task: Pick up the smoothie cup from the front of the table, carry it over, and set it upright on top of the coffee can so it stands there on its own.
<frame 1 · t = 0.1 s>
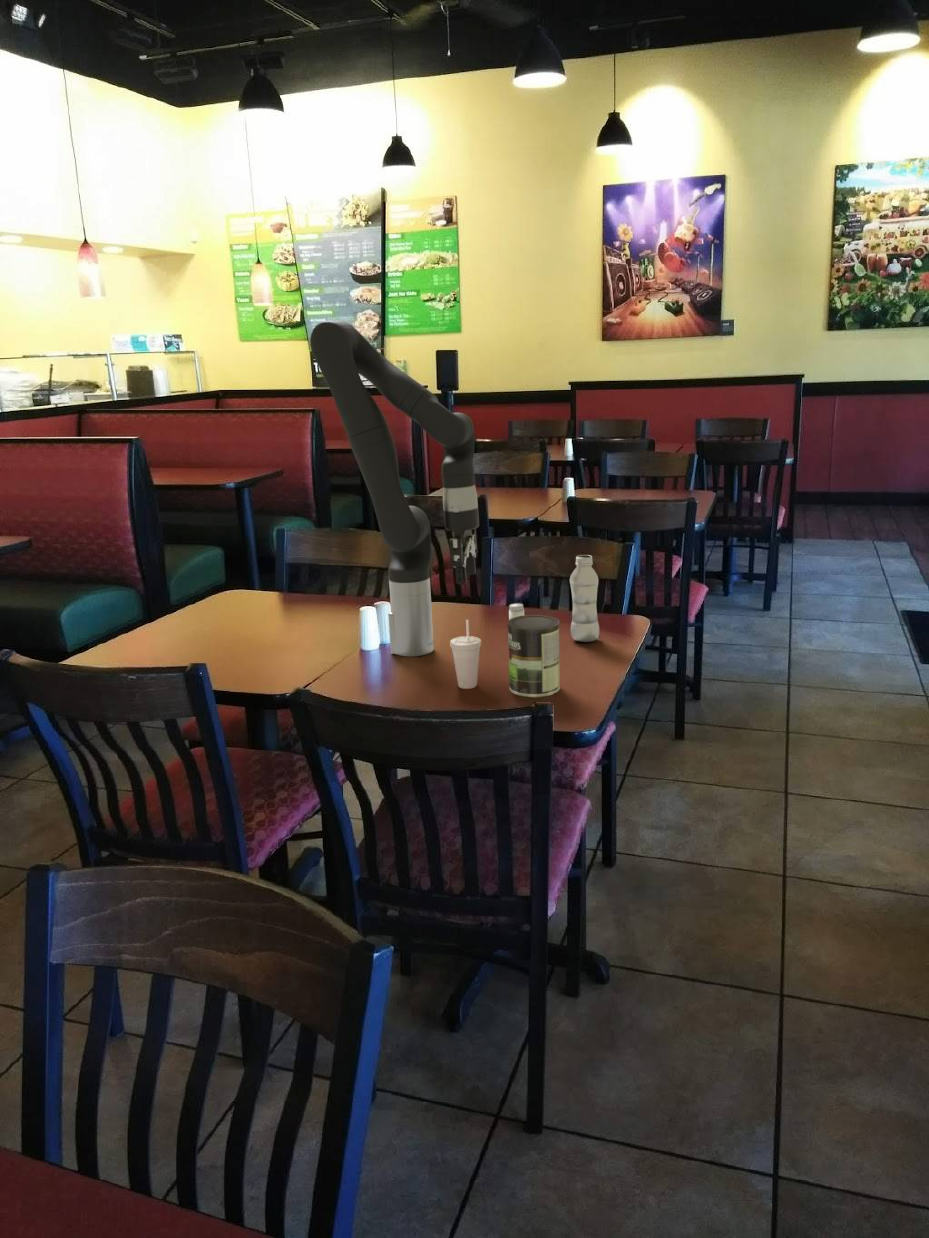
hand: (466, 579, 207), 17 cm above the table, tool pointing down, fingers open, 8 cm apart
salt shaker: (517, 638, 221), on the table
smoothie: (467, 686, 191), on the table
coffee can: (534, 689, 188), on the table
plastic bottle: (584, 641, 217), on the table
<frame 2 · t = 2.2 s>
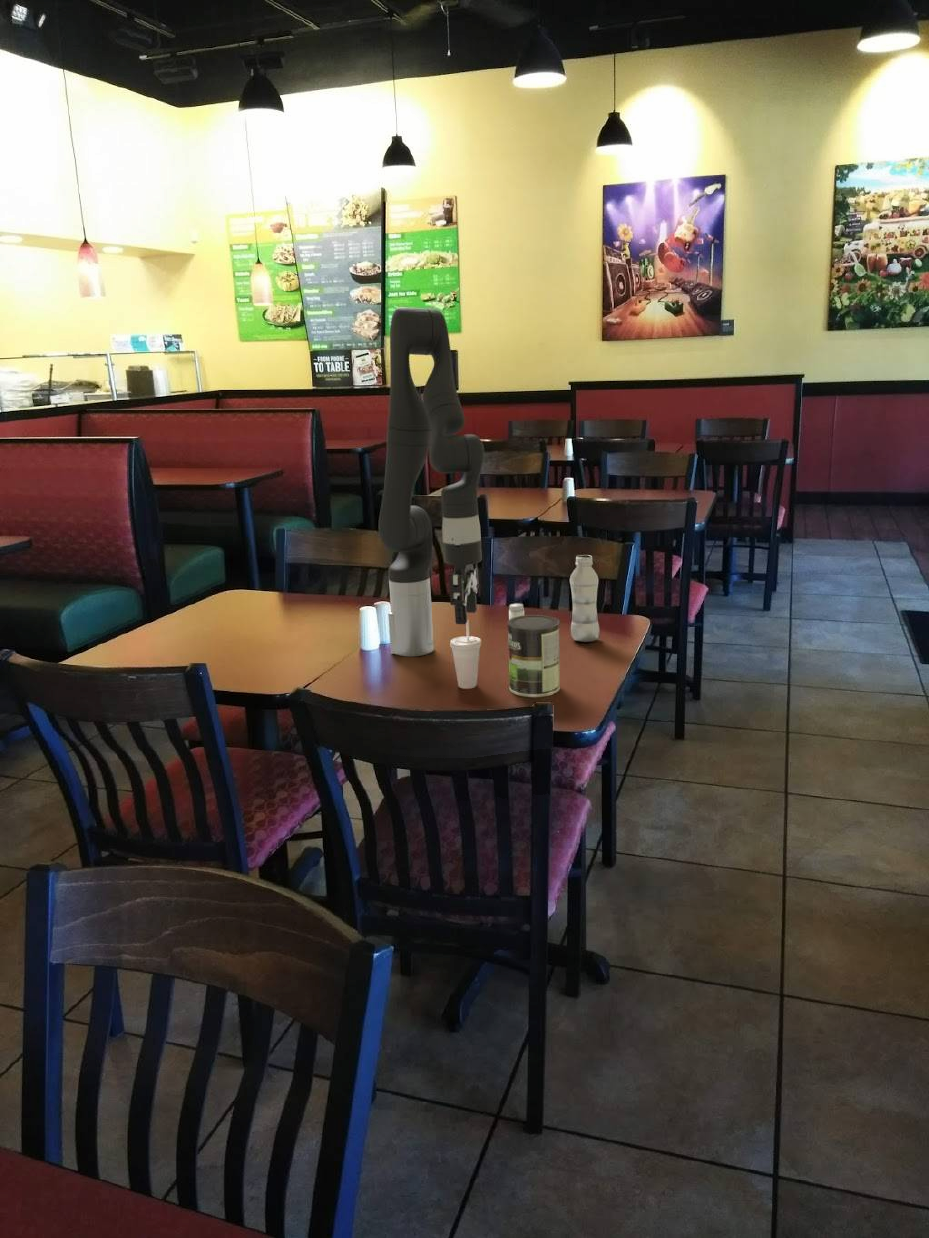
hand: (466, 617, 187), 14 cm above the table, tool pointing down, fingers open, 8 cm apart
nothing on the table moved.
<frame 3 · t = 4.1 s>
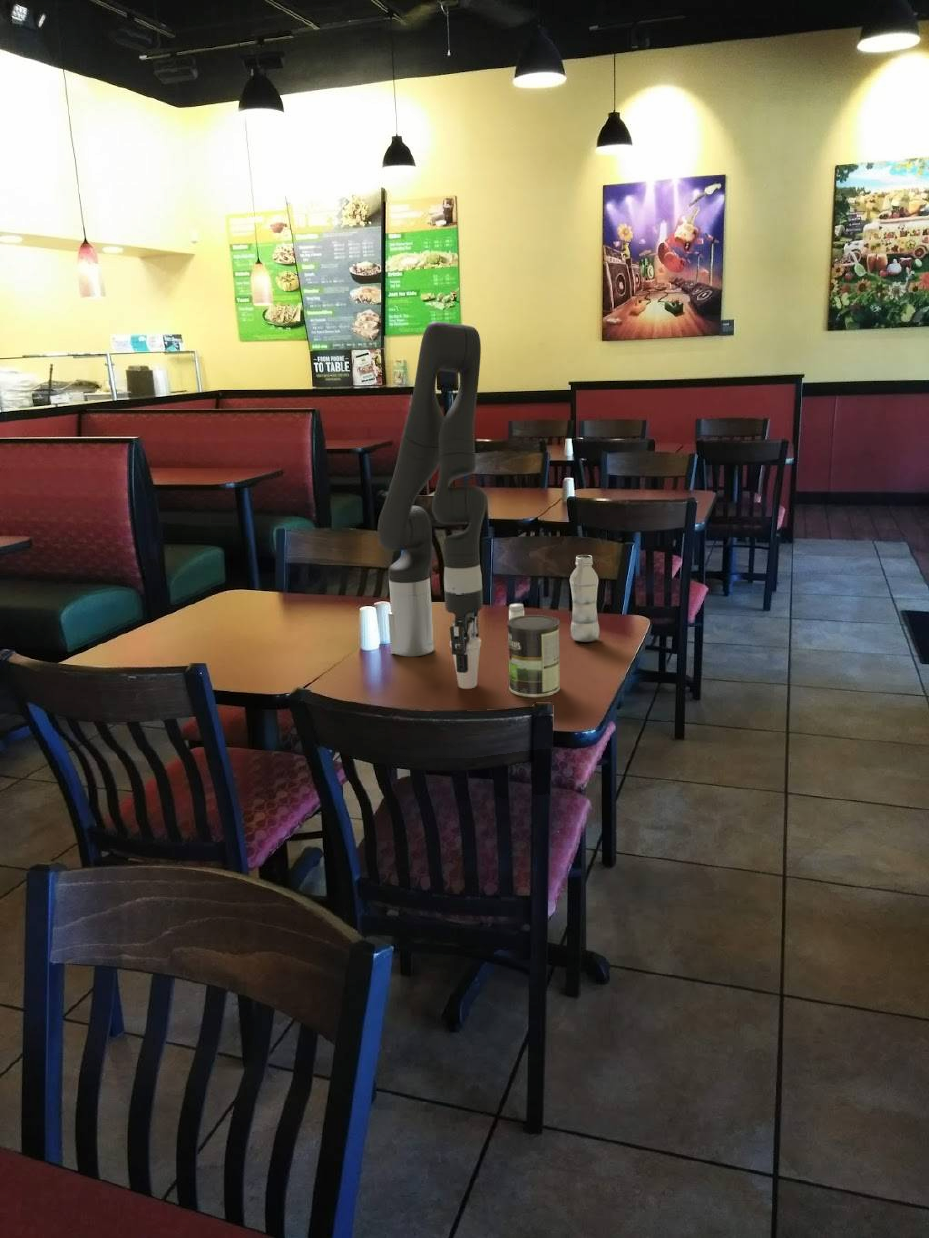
hand: (466, 666, 190), 4 cm above the table, tool pointing down, fingers closed on smoothie, 6 cm apart
smoothie: (467, 686, 191), on the table, touching gripper
everything else where it was.
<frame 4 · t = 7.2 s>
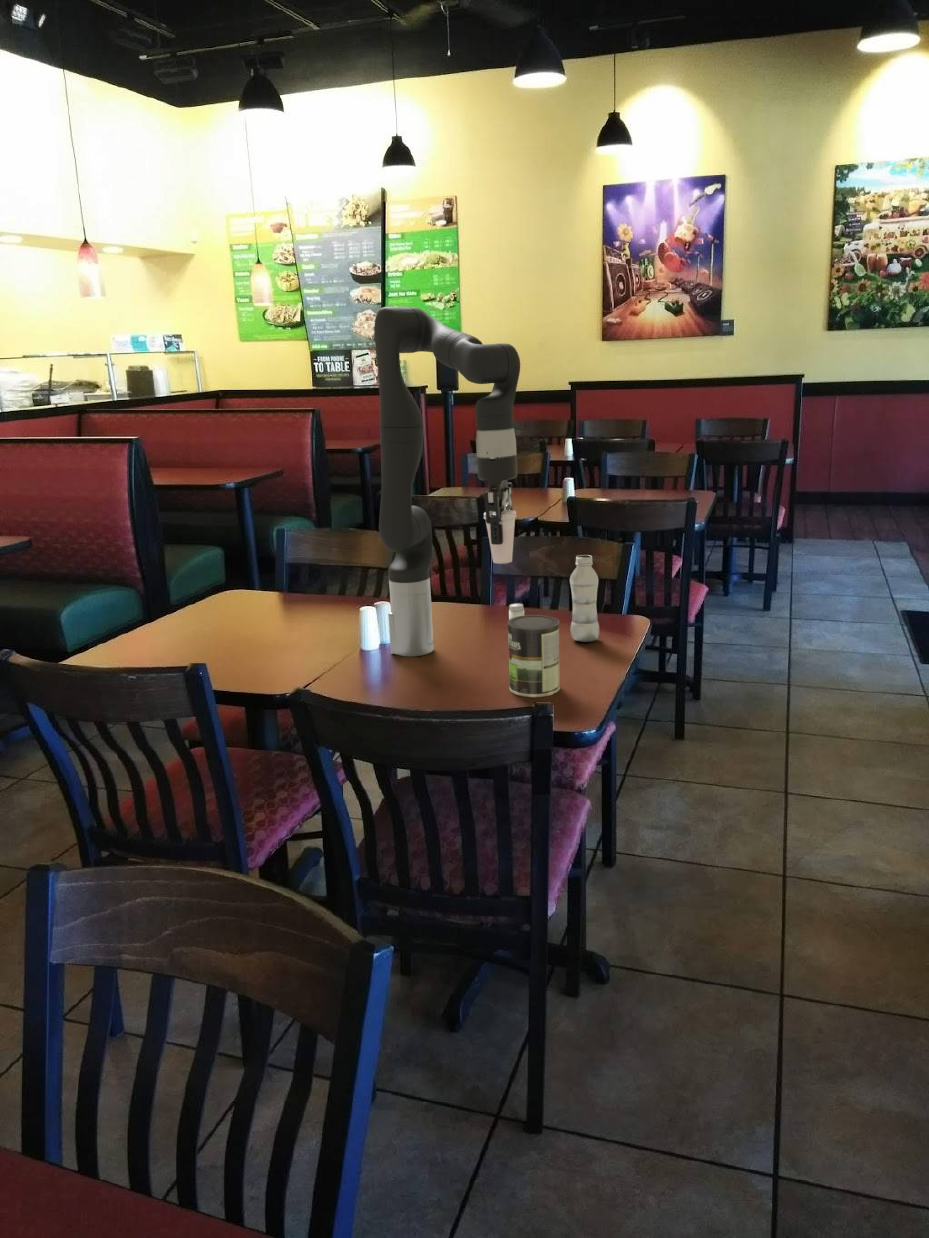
hand: (501, 540, 181), 30 cm above the table, tool pointing down, fingers closed on smoothie, 6 cm apart
smoothie: (502, 562, 182), point 26 cm above the table, touching gripper
everything else where it was.
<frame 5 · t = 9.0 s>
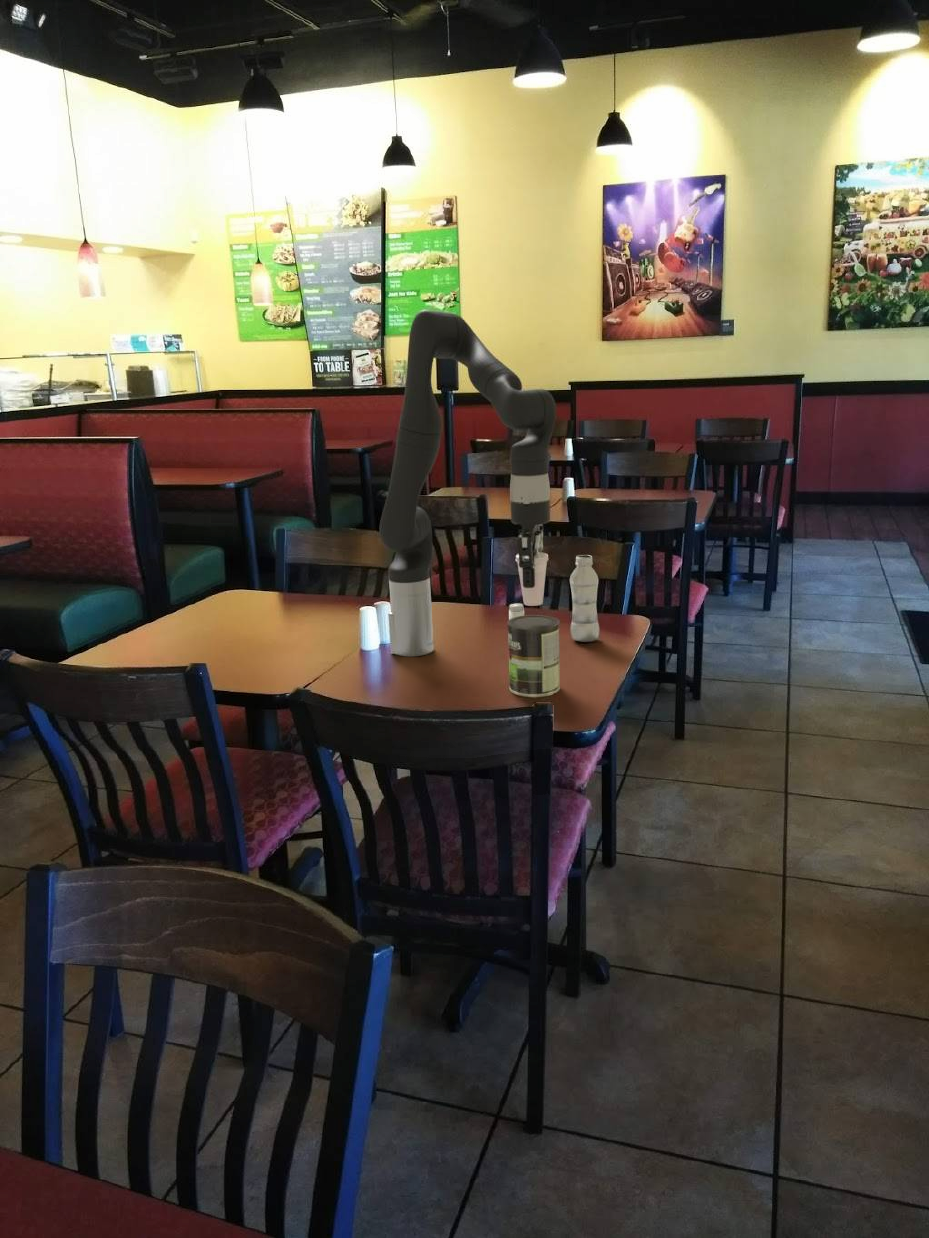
hand: (532, 582, 182), 22 cm above the table, tool pointing down, fingers closed on smoothie, 6 cm apart
smoothie: (533, 604, 183), point 18 cm above the table, touching gripper
everything else where it was.
when the fingers open (20 cm above the table, at t = 10.5 s): smoothie drops 1 cm, resting on coffee can.
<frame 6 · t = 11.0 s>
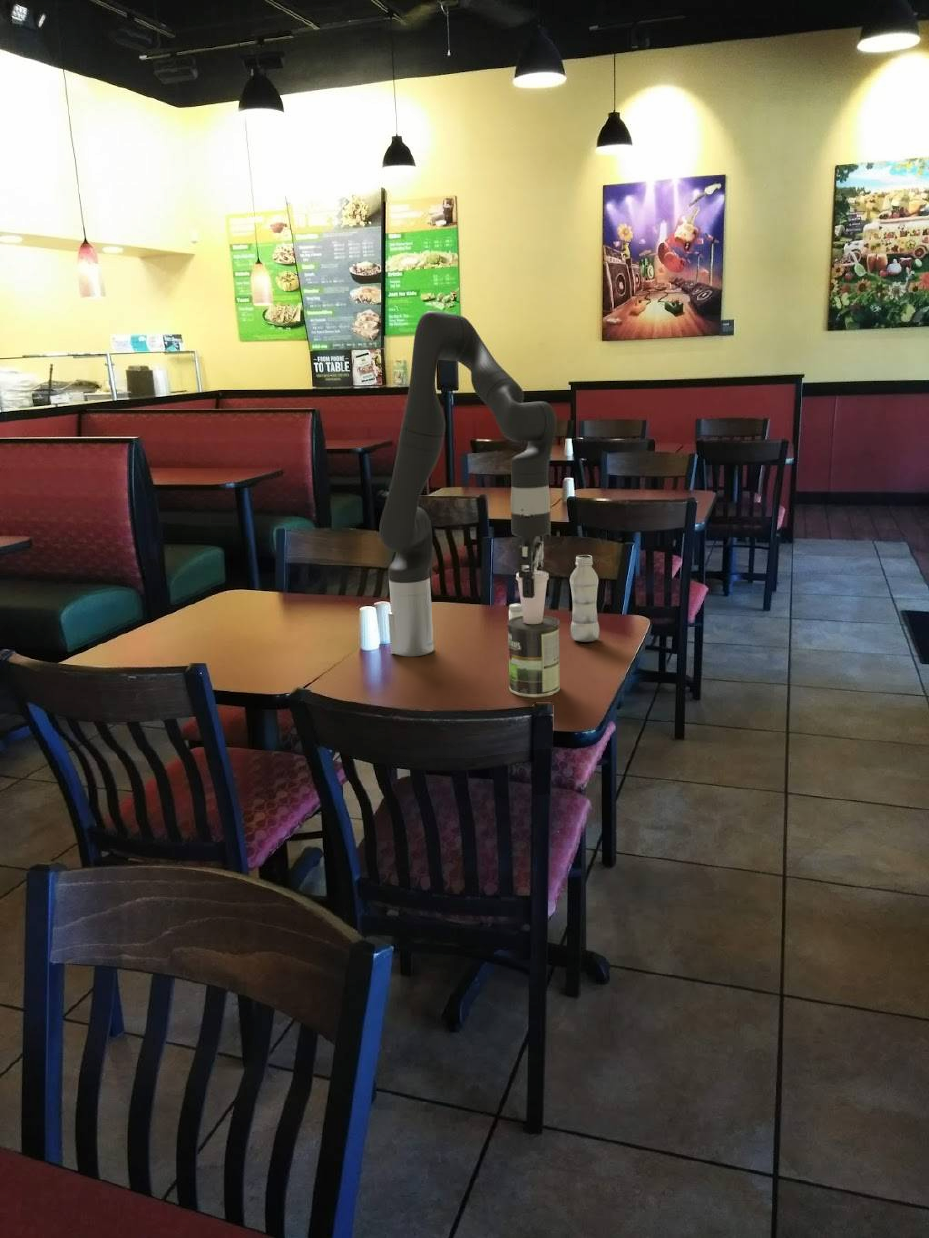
hand: (532, 591, 182), 20 cm above the table, tool pointing down, fingers open, 8 cm apart
smoothie: (532, 622, 184), point 14 cm above the table, touching coffee can
coffee can: (534, 689, 188), on the table, touching smoothie
everything else where it was.
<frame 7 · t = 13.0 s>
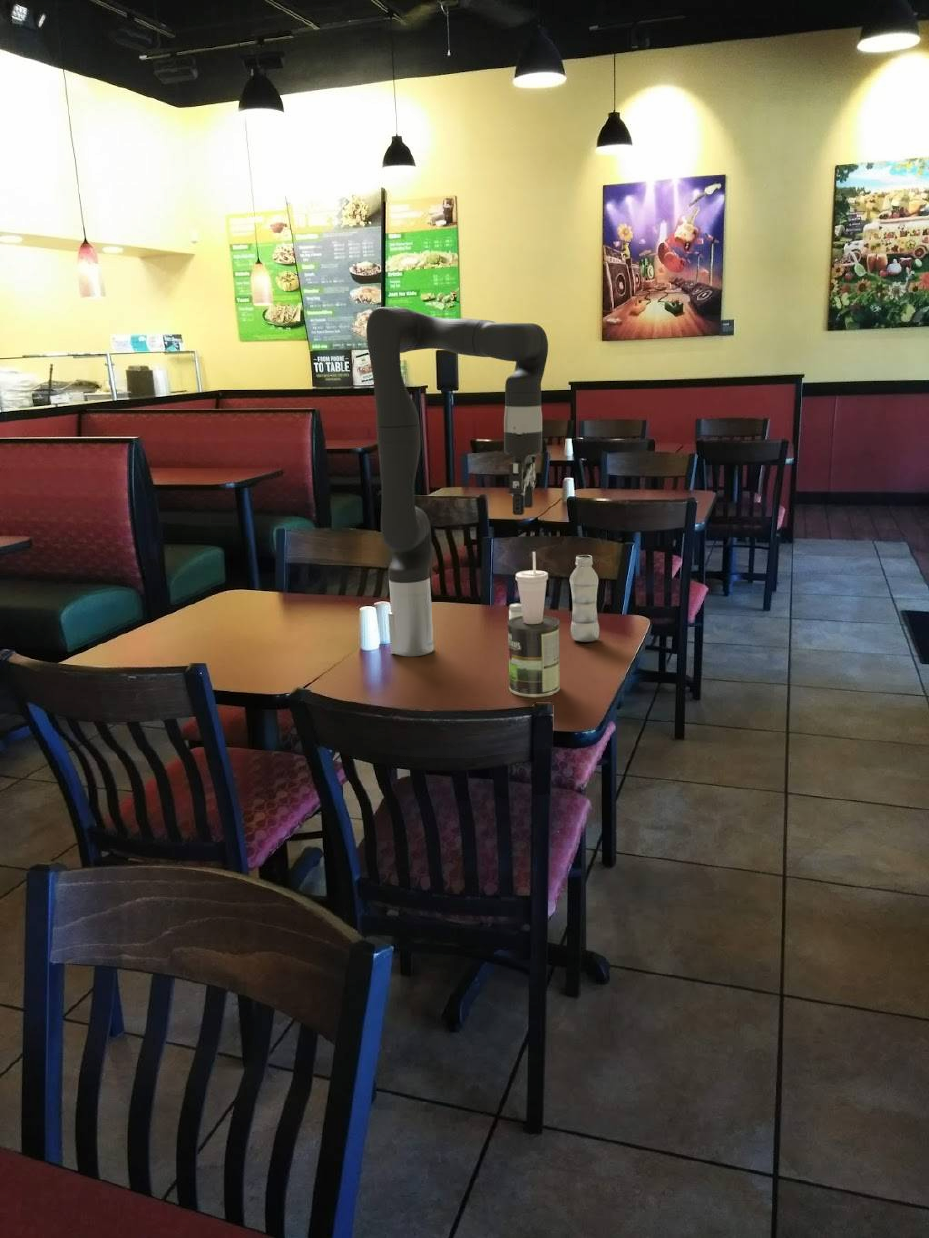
hand: (523, 511, 188), 34 cm above the table, tool pointing down, fingers open, 8 cm apart
nothing on the table moved.
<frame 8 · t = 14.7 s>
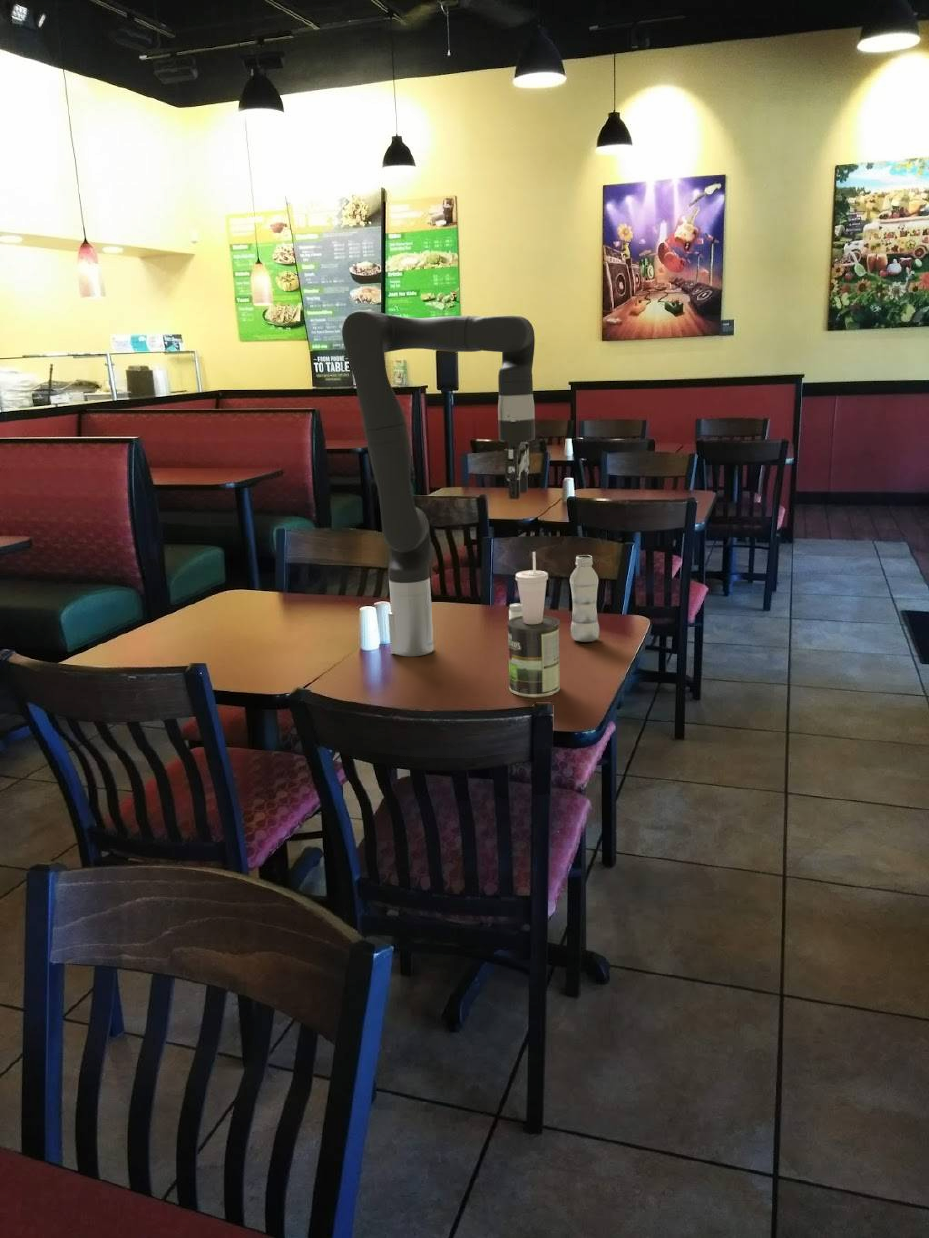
hand: (518, 495, 197), 36 cm above the table, tool pointing down, fingers open, 8 cm apart
nothing on the table moved.
at the end: smoothie 0.1 cm off-centre on the coffee can, point 14.1 cm above the coffee can's base; smoothie tilted 0°; the gripper is holding nothing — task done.
